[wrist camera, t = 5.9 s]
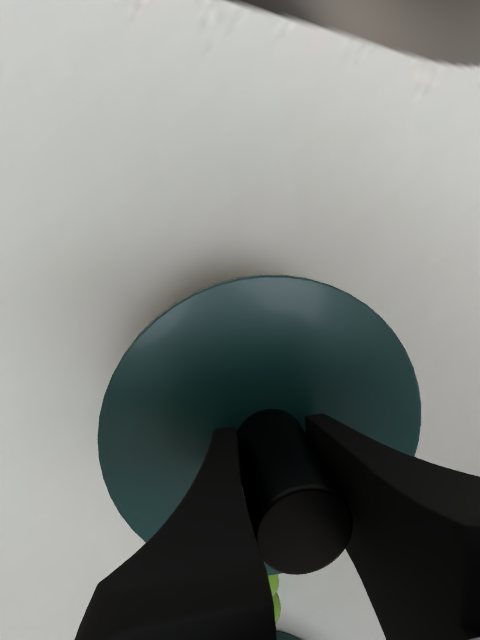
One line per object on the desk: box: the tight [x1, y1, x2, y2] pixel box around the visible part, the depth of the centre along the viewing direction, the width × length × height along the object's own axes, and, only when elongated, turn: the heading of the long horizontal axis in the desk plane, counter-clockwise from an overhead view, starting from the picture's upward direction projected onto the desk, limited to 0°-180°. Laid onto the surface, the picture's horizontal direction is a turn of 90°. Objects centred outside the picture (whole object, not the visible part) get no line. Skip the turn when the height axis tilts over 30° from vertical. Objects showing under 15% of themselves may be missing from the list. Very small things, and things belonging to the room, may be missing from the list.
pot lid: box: [98, 275, 421, 575], centre depth 11 cm, size 11×11×5 cm
